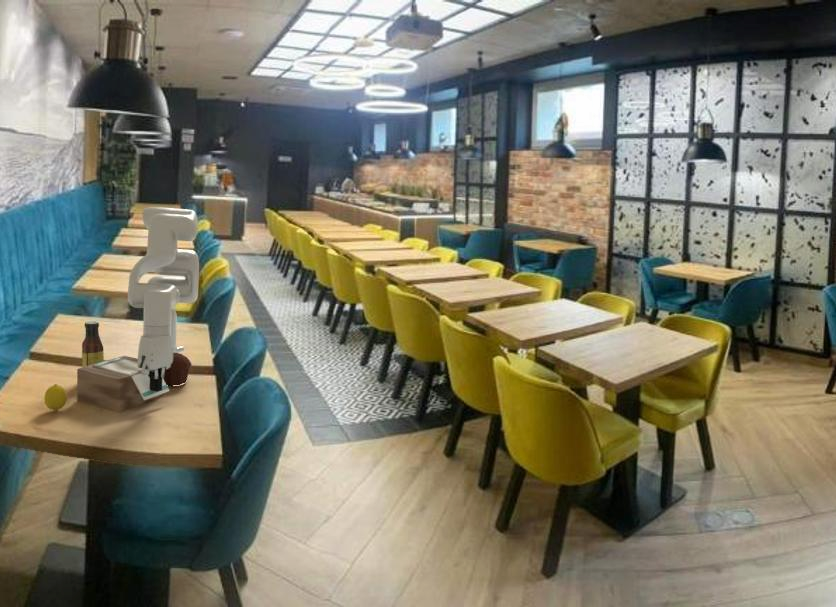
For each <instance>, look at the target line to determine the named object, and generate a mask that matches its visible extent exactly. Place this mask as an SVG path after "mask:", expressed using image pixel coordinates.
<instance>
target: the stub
mask: <svg viewBox="0 0 836 607" xmlns="http://www.w3.org/2000/svg"><path fill="white" fill-rule="evenodd" d="M132 379H133V381H134V383H135V384H136V386H137V388H138V390H139V392H140V394H141V396H142V397H143V399H144V400H147V399H150V398H152V397H155V396H158V395H160V394H163V393H164V394H166V393H167V392H170V389H169V387H168V386H167V385H166V383H165V381H164V379H163V378H162V390H161V391H158V392H156V391H152V390H150V378H149V377H148V375H144V374H141V373H140V374H137V375H134V376H132Z"/></svg>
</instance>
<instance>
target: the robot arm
mask: <svg viewBox="0 0 836 607" xmlns="http://www.w3.org/2000/svg"><path fill="white" fill-rule="evenodd" d="M141 217H142V218H141V219H142V222H143V225H144V227H145V228H146V229H147V232H148V233H147V244H146V245H147V246H146V254H145V255H144V256H143V257H141V258H140V259H139V260H138V261H137V262H136V263H135V264H134V265H133V267H132V269H131V271H130V272H129V273H130V274H129V278H128V289H127V300H128V303H129V305H130V306H131V307H132V308H134V309H135V308H136V309H143V323H142V324H143V325H142V326H143V328H142V329H143V330H142V333H143V334H142V335H141V336H140V339H139V345H138V351H137V359H138V362H137V365H138V368H142V370H141V374H144V375H148V377H149V378H150V390H152V391H156V392H158V391H161V390H162V377H164V372H165V371H166V370H167V369H168V368H170V367H171V364H172V362H173V353H180V352H184V350H185V347H184V346H182V345H181V346H177V326H178V324H177V322H178V315H177V311H176V310H175V307H176V306H177V305H178V304H190V303H191V304H193V303H196V301H197V299H198V297H199V278H200V276H199V275H200V260H199V255H198V253H197V252H196V251H195V250H191V249H181V248H180V249H179V248H178V241H180V242H193V241H194V240H196V239H197V235H198V234H197V233H198V229H199V228H198V226H199V225H198V224H199V223H198V222H199V221H198V220H199V219H198V216H197V213H196V211H194V210H193V209H186V208H185V209H184V208H174V207H173V208H172V207H163V206H147V207H145V208H144V209H143V210H142V212H141ZM152 271H153V272H154V273H155V274H157V275H158V276H157V275H156V276H153V277H151V278H150V279H149V280H148V281H147V282H140V280H141V278H142V277H144V275H146V274H148V273H149V272H152Z"/></svg>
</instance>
